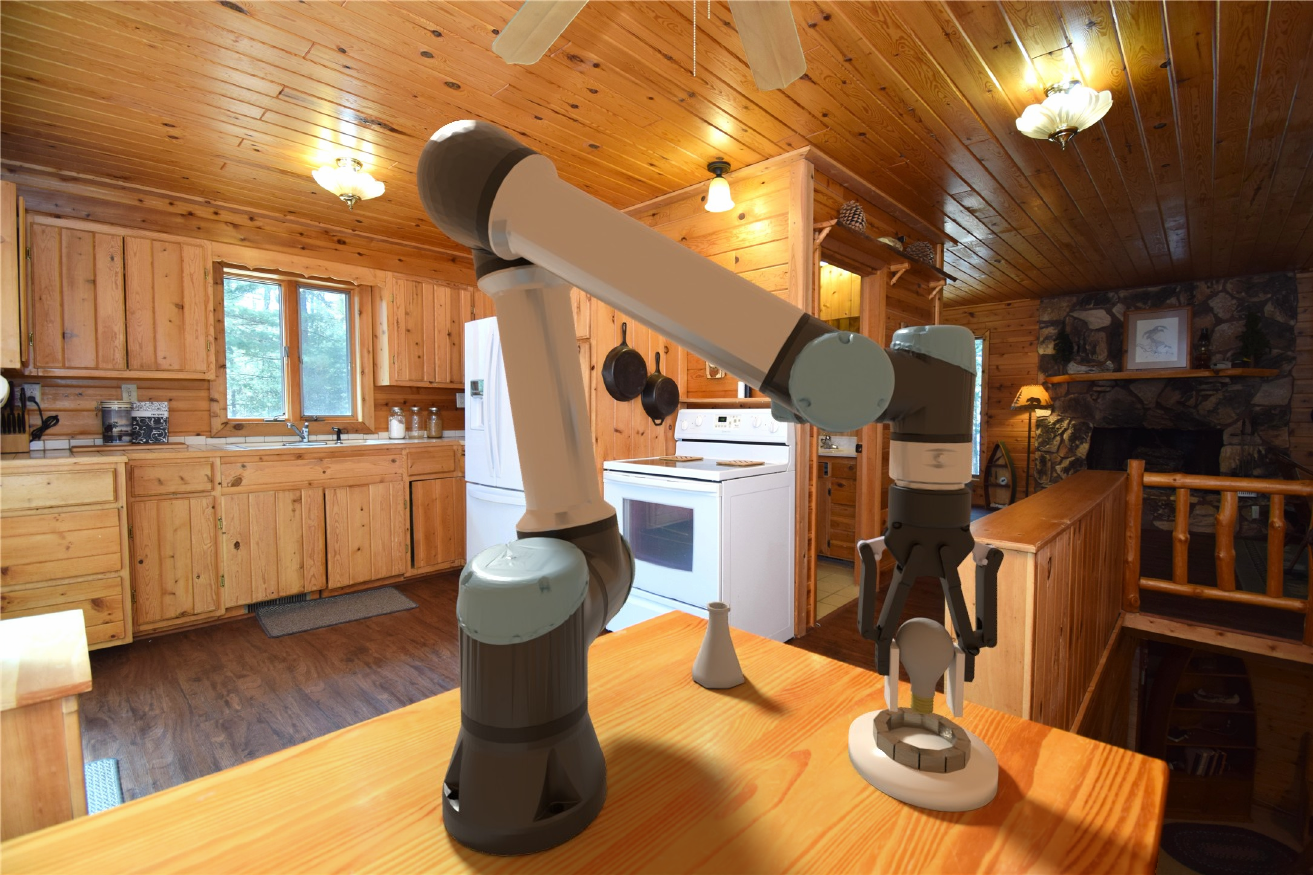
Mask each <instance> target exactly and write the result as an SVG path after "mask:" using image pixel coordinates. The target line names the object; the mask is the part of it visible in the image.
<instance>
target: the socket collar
mask: <svg viewBox="0 0 1313 875" xmlns="http://www.w3.org/2000/svg"><path fill="white" fill-rule="evenodd" d="M881 710H882V711H880V712H879V714H878V715H877V716H876V717H875V718H874V719H873V737H874V740H875V743H876V746H877V747H878V749H880V750H881V751H882V752H883V753H885V754H886V755H887V756H888V757H889V758H891V759H892V760H895V762H898V763H900V764H903V765H905V766H908V767H910V768H913V769H915V770H920V771H924V772H933V773H942V774H945V773H946V774H947V773H951V772H954V771H958V770H962V769H964V768H965V767H966V765H967V763H968V761H969V759H970V754H971V741H970V739H969V737H968V736H967V734H966V732H965V731H964V729H962V727H963V726H961V725H959V724H957V723H955V722H954V721H953V720H951V719H950V718H948V717H947V716H946V717H945V716H944V715H941V714H938V713H935V712H932V713H931V714H928V715H924V716H922V715H919V714H918V713H916V712H915V711H913V710H912V709H911V707H906V706H905V707H903V706H898V712H895V711H889V708H887V709H886V710H885V709H881ZM960 726H961V727H960ZM902 727H909V728H919V729H923V730H926V731H929V732H932V733H935V734H937V735H939V736H941V737H942V738H943V739H945V740H946V741H948V742H949V743H951V744H952V747H949V748H945V749H941V750H934V749H924V748H918V747H916V746H913V745H910V744H908V743H905V742H902V741H901V740H899V739H898V738H897V737H895V736H894V735H893V734H891V733H890V730H893V729H897V728H902Z"/></svg>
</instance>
